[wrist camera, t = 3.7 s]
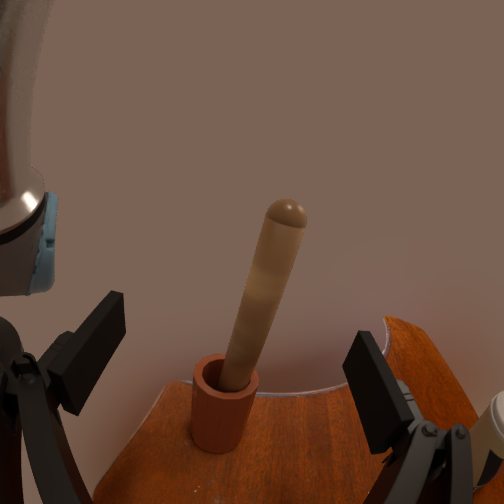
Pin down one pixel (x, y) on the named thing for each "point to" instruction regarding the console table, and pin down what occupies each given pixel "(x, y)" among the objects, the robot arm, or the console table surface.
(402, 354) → the console table surface
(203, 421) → the crock
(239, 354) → the stick
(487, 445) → the coffee cup
